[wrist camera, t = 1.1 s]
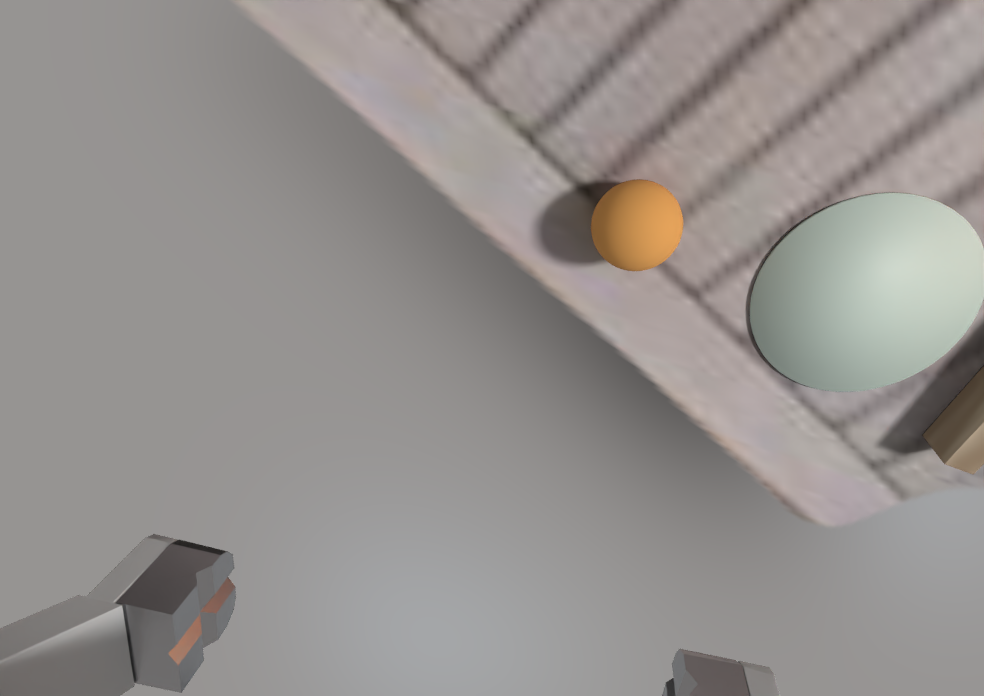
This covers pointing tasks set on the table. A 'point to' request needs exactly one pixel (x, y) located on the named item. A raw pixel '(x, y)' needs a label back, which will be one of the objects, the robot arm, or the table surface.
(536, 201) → the table surface
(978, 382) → the bar
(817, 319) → the disc
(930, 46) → the table surface
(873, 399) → the table surface
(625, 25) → the table surface
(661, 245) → the ball
